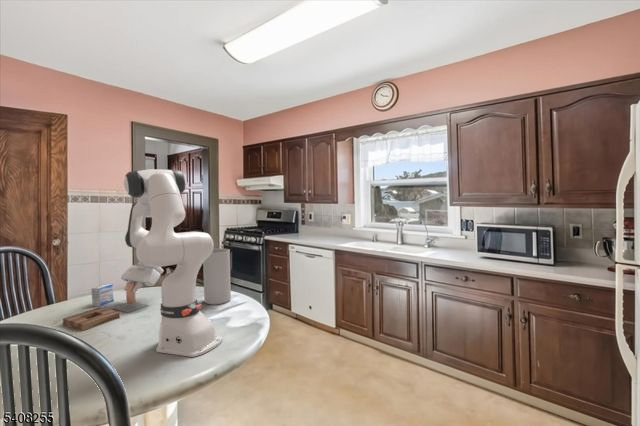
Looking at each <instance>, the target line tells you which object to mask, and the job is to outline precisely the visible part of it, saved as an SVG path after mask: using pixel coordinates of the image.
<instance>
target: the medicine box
mask: <svg viewBox="0 0 640 426" xmlns="http://www.w3.org/2000/svg"><path fill="white" fill-rule="evenodd" d="M114 298H115V297H114V284H113V283H105V284H101V285H98V286H95V287H93V288H91V305H92V306H93V307H103V306H104V305H107V304H110V303H112V302H114V300H115V299H114Z"/></svg>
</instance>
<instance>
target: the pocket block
mask: <svg viewBox="0 0 640 426" xmlns="http://www.w3.org/2000/svg"><path fill="white" fill-rule="evenodd" d="M119 318H120V311H117V310H114V309H113V310H112V309H108V308H103V307H101V306H97V307H95V308H93V309H90V310H87V311H83V312H80V313H76V314H72V315H70V316H66V317H63V318H62V325H63V326H67V327H70V328H72V329H76V330H79V331H82V332H83V331H86V330H89V329H90V330H91V329H93V328H95V327H98V326H100V325H103V324H106V323H108V322H111V321H114V320H116V319H119Z"/></svg>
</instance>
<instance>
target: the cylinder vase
mask: <svg viewBox="0 0 640 426" xmlns="http://www.w3.org/2000/svg"><path fill="white" fill-rule="evenodd" d="M230 251H231V250H230V249H229V248H213V251H212V253H211V255H210V256H209V257H208V258H207V259H206V260H205V261H204V262H203V264H202V265H203V266H202V267H203V271H202V272H203V300H204V304H206V305H212V306H213V305H215V306H217V305H222V304H226V303H228V302H229V301H231V299H232V295H231V291H232V288H231V287H232V286H231V252H230Z"/></svg>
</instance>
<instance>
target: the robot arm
mask: <svg viewBox="0 0 640 426" xmlns="http://www.w3.org/2000/svg"><path fill="white" fill-rule="evenodd" d="M186 183H187V182H186V177H185V175H184V173H183V172H182V171H181V170H179V169H173V168H171V169H160V168H159V169H157V168H156V169H155V168H151V169H142V170H131V171H128V172H127V173H126V174H125V177H124V179H123V186H124V189H125V191H126V193H127V195H129V196H130V197H132V198H137V201H136V202H134V203H133V204H132V206H131V208H130V213H129V217H128V218H129V219H128V225H127V231H126V233H125V238H124V240H125V244H126V246H128V247H130V248H132V249H133V248H134V249H136V250H135V253H136V258H137V260H138V262H137V263H135V264H133V265H131V266H129V267H128V268H127V269H126V270H125V271H124V273H122V275H121V277H120V279H121V280H122V281H124V282H126V283H125V285H126V284H128V283H135V287H133V288H132V289H131V291H132V292H135V293H137V291H138V290H139V289H140V288H142V287H143V286H148V287H152V286H154V285H155V284H156V283H157V281H158V280H159V279H160V277H161V274H163V273H164V271H165V270H164V269H163V268H164V267H167V266H174V265H176V268H174V270H173V271H172V272H171V273H170V274H169V275H168V276H166V277H165V278H164V279H163V281H162V283H161V304H160V315H161V321H160V325H159V329H158V330H159V331H158V332H159V333H158V342H157V347H156V349H155V351H156V353H163V354H170V355H176V356H184V357H193V358H194V357H198V356H201V355H204V354H206V353H207V352H210V351H211V350H213V349H215V348H216V347H218V346H219V345H221V343H222V341H223V336H221V335H219V334H216V328H215V326H214V323H213V322H212V321H211V319H209V318H207V316H206V315H205V314H204V313H202V312H201V308H202V307H203V306H202V303H199V302H198V300H197V298H196V296H197V295H196V290H197V287H196V286H197V278H198V274H199V271H200V269H201V267H203V266H202V265H203V262H204V261H205V260H206V259H207V258H208V257H209V256H210V255H211V253H212V251H213V249H215V247H214V244H215V243H214V240H213V238H212V236H211V235H210V234H209V233H208V232H203V231H185V232H175V230H174V228H176V227H177V226H178V225H180V224H181V223H182V222H183V221H185V218H186V210H185V207H184V203H183V199H182V193H184V192H185V190H186ZM143 218H151V227H150V229H149V230H146V229H145V228H144V227H143V226H142V224H143ZM162 267H163V268H162ZM123 291H125V292H126V286H124V288H123Z"/></svg>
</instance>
